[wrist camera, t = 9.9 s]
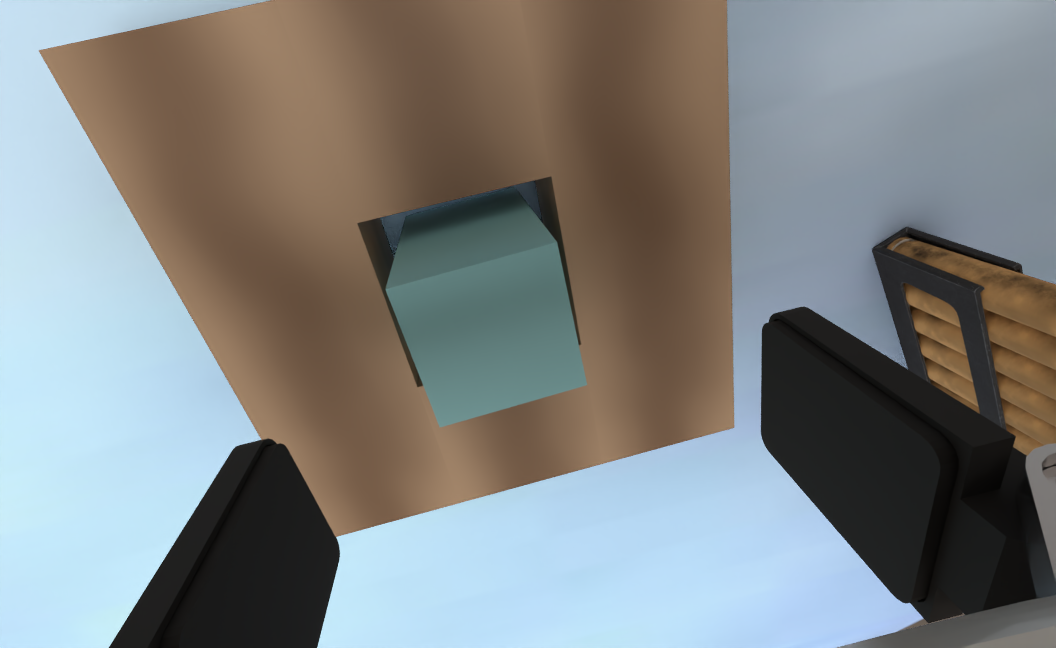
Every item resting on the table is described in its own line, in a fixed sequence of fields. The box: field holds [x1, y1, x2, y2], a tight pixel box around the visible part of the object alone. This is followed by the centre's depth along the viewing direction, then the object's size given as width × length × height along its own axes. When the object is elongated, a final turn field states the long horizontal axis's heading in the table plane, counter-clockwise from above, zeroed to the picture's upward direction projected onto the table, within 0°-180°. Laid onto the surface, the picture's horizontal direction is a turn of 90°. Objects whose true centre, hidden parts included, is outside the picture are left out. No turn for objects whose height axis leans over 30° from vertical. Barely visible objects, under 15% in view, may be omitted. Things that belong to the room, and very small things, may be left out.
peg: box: [385, 187, 587, 427], centre depth 17 cm, size 4×4×8 cm
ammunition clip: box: [872, 227, 1056, 456], centre depth 20 cm, size 11×2×12 cm, turn 33°
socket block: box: [39, 0, 734, 537], centre depth 19 cm, size 18×18×4 cm
